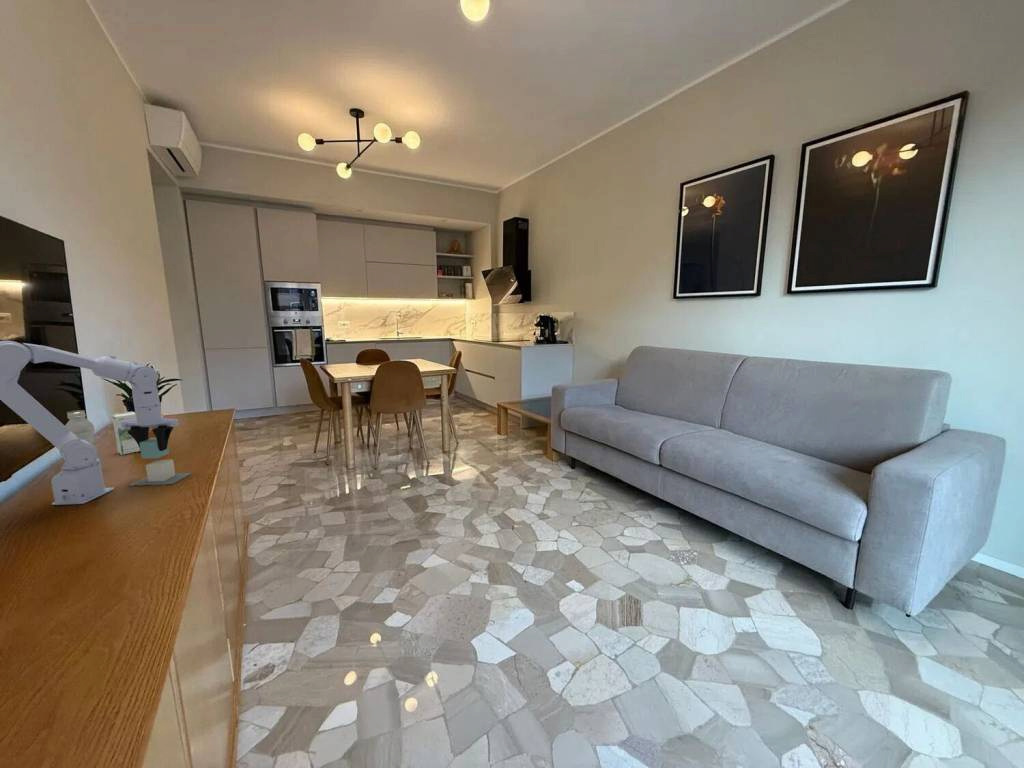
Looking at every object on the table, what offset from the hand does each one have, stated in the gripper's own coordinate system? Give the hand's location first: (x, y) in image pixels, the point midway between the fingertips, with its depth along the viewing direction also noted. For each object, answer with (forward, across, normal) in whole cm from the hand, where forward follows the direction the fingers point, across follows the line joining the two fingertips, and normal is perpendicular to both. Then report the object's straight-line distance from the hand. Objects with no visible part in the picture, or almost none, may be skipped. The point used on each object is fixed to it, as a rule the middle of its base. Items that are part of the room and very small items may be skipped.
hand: (154, 450), depth 124 cm
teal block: (+2, 0, 0) cm, 2 cm away
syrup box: (+9, +30, -28) cm, 42 cm away
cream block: (+8, -2, +1) cm, 9 cm away
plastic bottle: (+9, +26, -7) cm, 28 cm away
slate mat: (+9, -2, +2) cm, 9 cm away
